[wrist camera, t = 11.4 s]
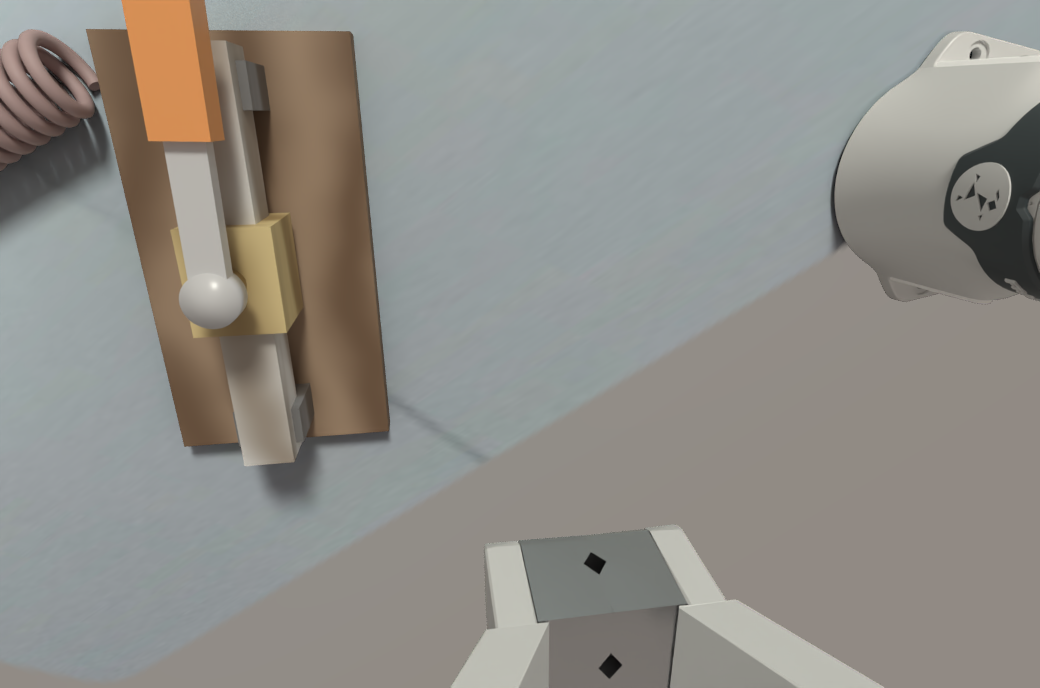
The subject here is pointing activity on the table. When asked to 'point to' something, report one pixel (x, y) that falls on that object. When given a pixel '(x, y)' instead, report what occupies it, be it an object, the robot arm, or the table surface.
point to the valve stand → (265, 244)
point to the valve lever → (187, 146)
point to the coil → (39, 93)
